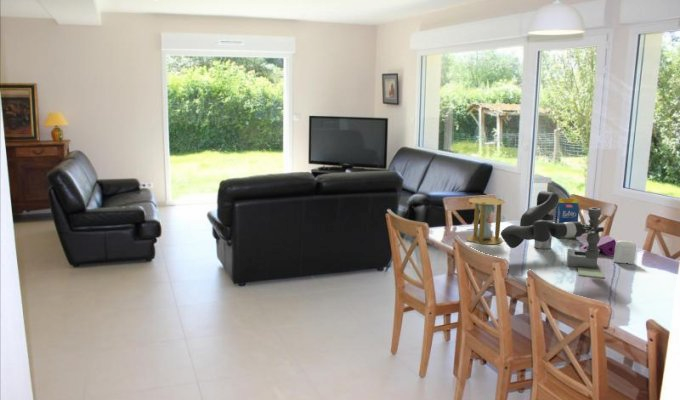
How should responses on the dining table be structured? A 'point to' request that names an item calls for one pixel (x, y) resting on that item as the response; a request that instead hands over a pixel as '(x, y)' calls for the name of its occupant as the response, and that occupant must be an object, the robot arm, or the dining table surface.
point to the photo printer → (625, 252)
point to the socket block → (580, 260)
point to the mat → (591, 273)
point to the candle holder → (593, 240)
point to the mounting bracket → (604, 245)
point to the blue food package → (567, 212)
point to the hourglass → (484, 232)
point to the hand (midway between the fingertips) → (600, 228)
